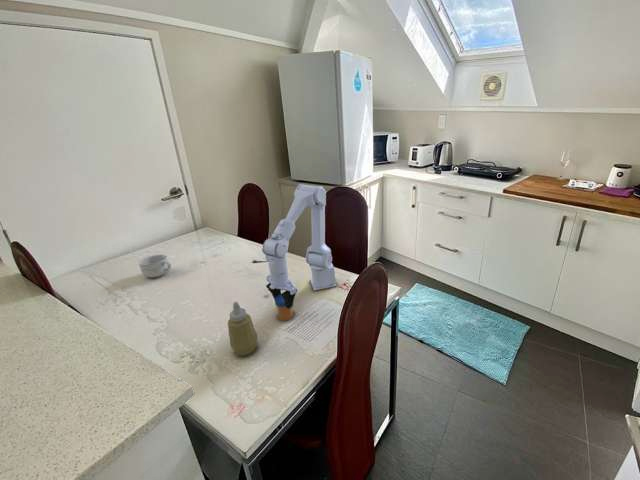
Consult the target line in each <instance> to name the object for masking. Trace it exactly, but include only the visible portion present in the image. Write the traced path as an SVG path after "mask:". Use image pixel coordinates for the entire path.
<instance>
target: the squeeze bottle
mask: <svg viewBox="0 0 640 480" xmlns="http://www.w3.org/2000/svg"><path fill="white" fill-rule="evenodd" d="M228 315H229V319H228V321H227V328H228V338H229V345H230V347H231V349H232V350H233V351H234V352H235V353H236V355H238V356H248V355H249V354H252V353H253V352H254V351H255V349H256V346H257V341H258V334H257V331H256V329H255V325H254V322H253V320H252V317H251V315H250V314H249V313H247V310H246V309H245V308H242V307H241V306H240V304H239V302H238V301H233V303H232V311H230V313H229V314H228Z"/></svg>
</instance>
